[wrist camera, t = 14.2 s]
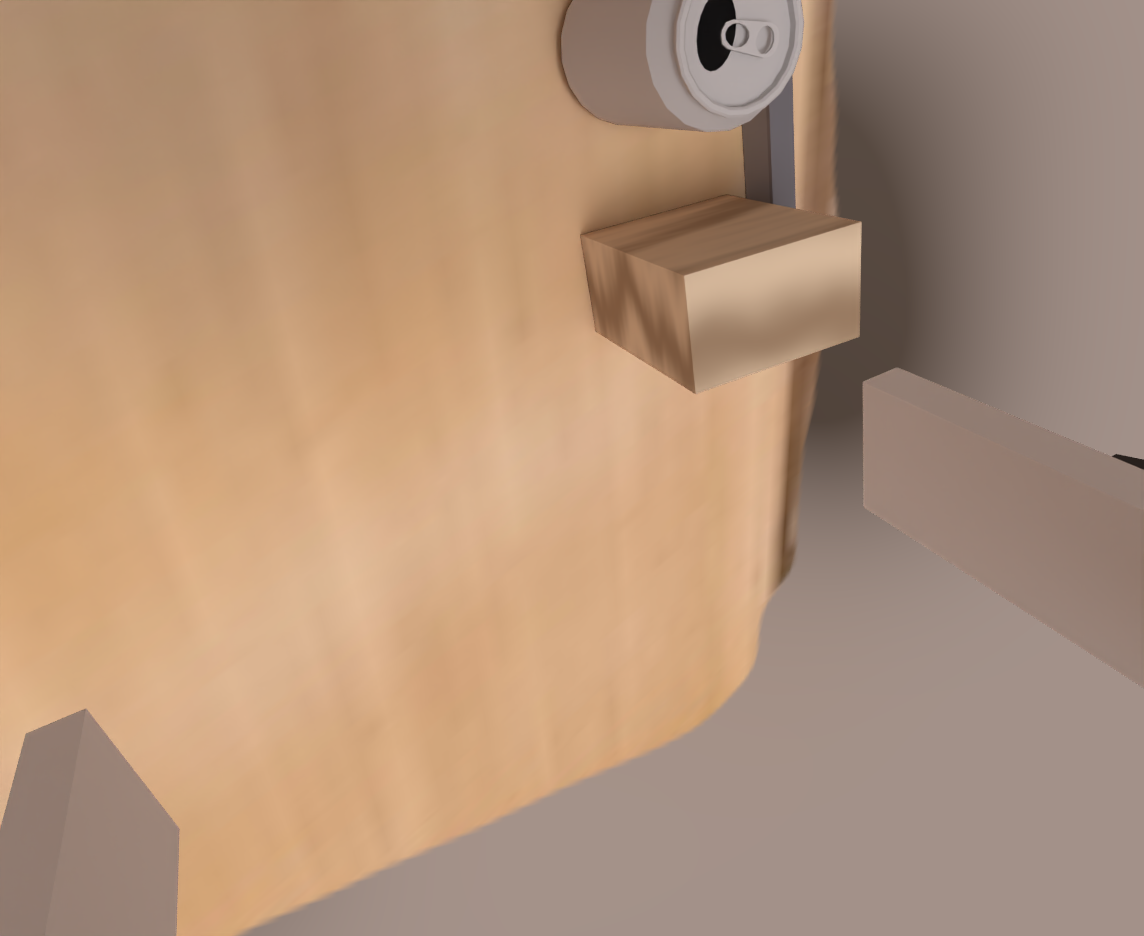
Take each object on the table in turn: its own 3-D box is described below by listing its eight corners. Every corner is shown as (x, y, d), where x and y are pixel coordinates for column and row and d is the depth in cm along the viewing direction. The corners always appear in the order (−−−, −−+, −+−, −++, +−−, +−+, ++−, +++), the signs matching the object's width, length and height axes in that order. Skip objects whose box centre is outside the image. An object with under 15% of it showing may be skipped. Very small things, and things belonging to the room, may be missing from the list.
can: (562, -48, 39) (683, -96, 29) (690, -19, 42) (839, -53, 32) (547, 115, 42) (651, 122, 32) (667, 131, 45) (797, 143, 35)
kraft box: (580, 235, 45) (683, 275, 35) (728, 194, 48) (863, 221, 38) (596, 331, 48) (695, 394, 38) (734, 288, 51) (861, 335, 41)
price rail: (722, -240, 38) (755, -262, 36) (749, -243, 39) (784, -264, 36) (751, 290, 51) (776, 299, 49) (771, 283, 52) (797, 292, 50)
